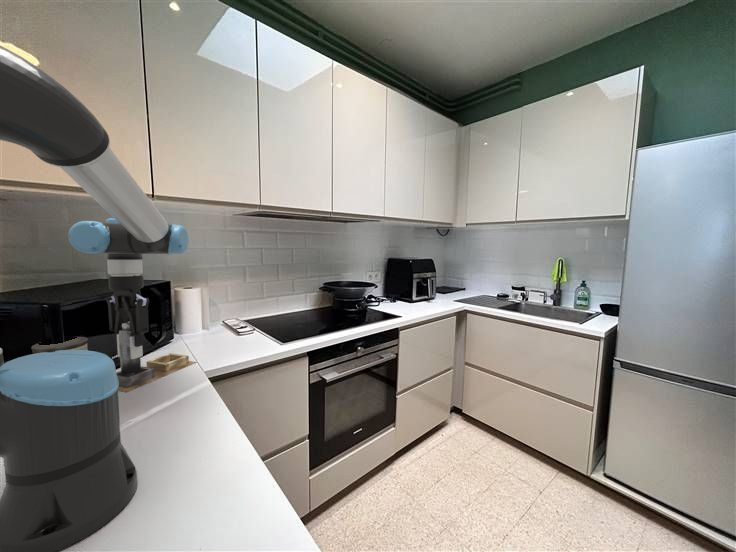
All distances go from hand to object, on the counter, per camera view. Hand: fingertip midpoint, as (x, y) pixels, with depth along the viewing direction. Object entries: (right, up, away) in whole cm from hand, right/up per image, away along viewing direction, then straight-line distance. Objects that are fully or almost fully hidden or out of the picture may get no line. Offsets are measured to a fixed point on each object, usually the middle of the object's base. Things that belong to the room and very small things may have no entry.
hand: (130, 356), depth 82 cm
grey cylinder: (0, -4, 0) cm, 4 cm away
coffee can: (-15, -9, -4) cm, 18 cm away
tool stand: (+1, -8, +6) cm, 10 cm away
